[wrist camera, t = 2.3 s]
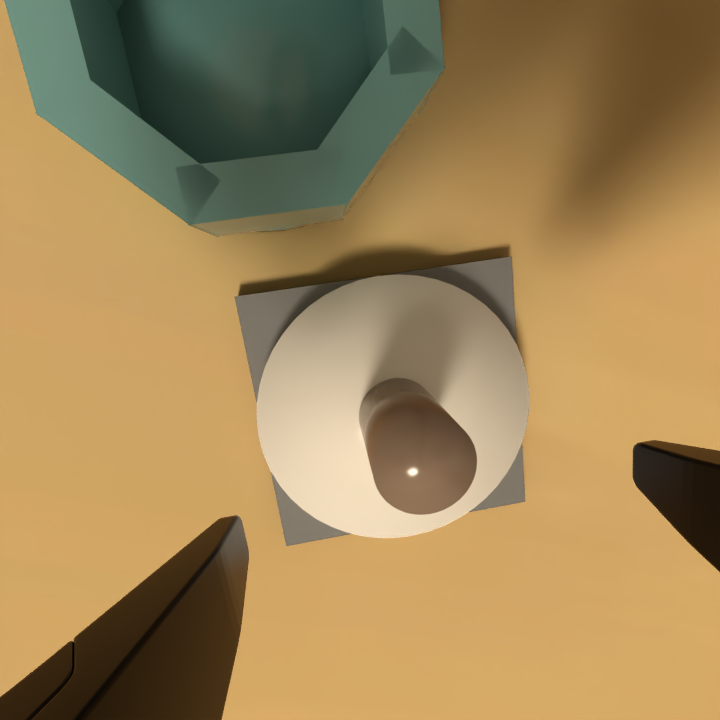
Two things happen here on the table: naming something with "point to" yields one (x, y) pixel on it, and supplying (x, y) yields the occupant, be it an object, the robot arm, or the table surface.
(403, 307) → the lid
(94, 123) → the bowl
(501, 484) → the mat
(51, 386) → the table surface
